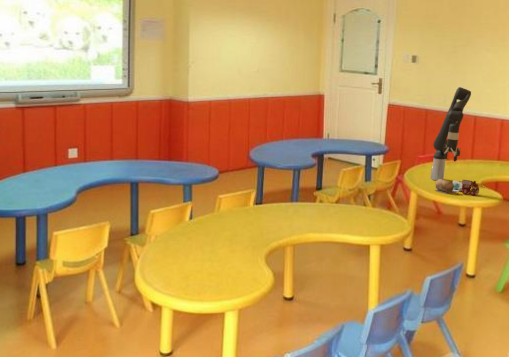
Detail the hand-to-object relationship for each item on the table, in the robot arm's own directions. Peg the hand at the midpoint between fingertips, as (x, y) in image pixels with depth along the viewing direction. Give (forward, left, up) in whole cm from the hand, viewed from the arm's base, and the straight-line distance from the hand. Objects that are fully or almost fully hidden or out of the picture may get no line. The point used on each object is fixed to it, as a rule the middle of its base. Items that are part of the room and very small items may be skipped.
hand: (450, 160), depth 478 cm
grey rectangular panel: (+2, +1, -23) cm, 23 cm away
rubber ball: (+2, +10, -20) cm, 22 cm away
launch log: (+2, -5, -23) cm, 24 cm away
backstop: (+2, +8, -22) cm, 24 cm away
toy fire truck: (+16, +6, -23) cm, 29 cm away
